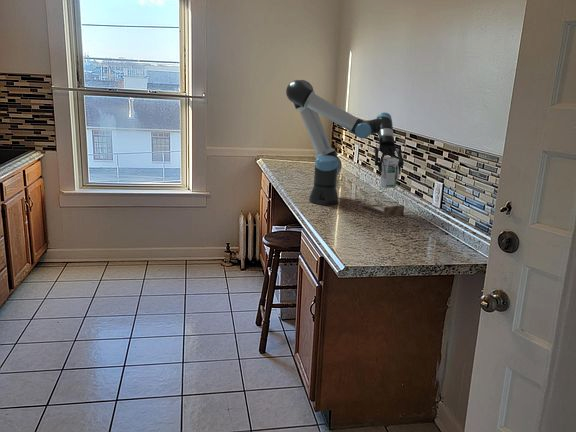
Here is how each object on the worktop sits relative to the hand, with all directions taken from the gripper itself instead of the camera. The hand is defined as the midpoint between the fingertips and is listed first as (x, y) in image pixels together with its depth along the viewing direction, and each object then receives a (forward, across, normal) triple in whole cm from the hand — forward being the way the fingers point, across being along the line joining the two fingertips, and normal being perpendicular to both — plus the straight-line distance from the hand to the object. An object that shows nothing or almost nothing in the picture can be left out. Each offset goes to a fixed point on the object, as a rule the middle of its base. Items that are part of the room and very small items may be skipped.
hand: (390, 177), depth 248 cm
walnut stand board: (+10, +1, -15) cm, 18 cm away
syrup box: (+1, 0, -7) cm, 7 cm away
